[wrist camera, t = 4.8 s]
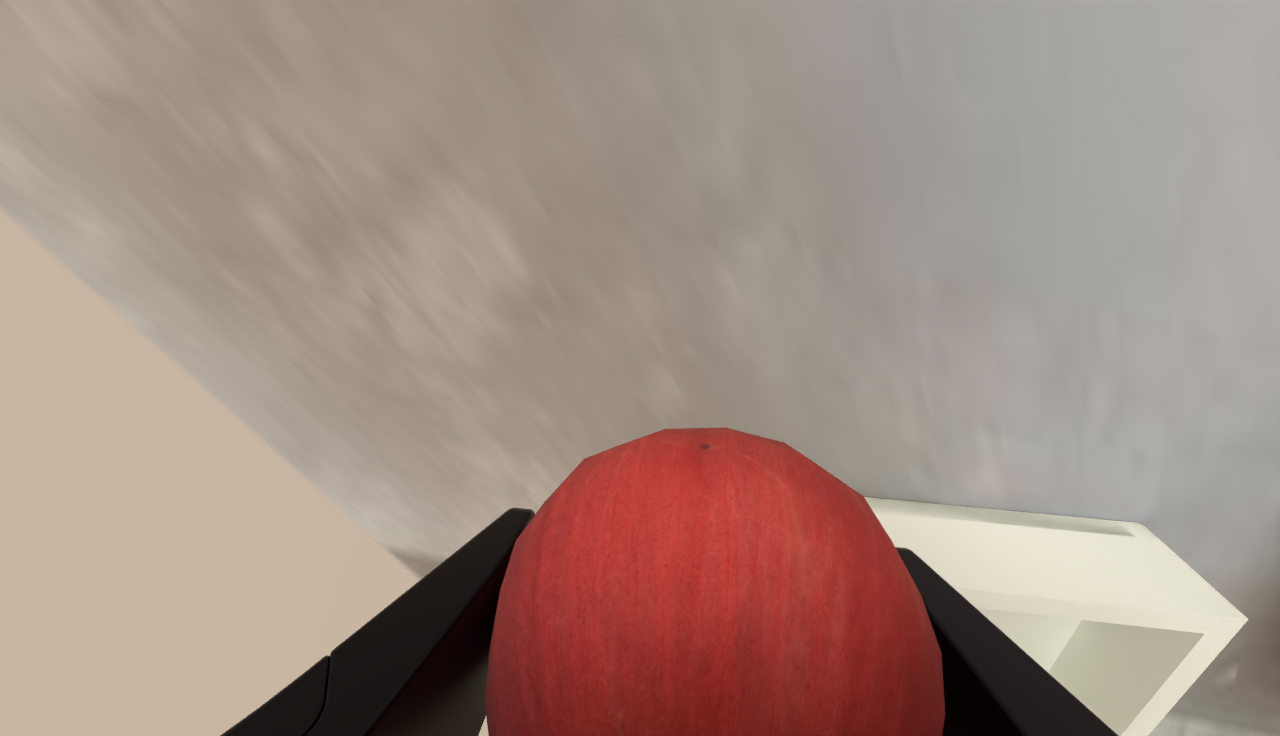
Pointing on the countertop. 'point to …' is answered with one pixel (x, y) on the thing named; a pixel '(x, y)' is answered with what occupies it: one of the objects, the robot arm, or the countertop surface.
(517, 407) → the countertop surface
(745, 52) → the countertop surface
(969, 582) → the bin
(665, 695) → the onion
